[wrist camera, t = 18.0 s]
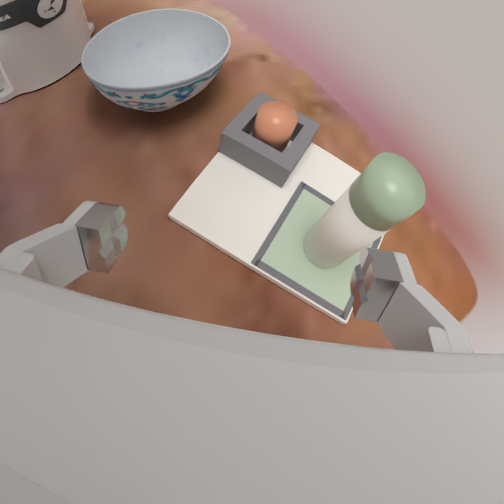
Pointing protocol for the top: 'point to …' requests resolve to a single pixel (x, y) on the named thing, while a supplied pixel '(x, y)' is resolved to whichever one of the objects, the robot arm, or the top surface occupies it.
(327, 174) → the white board
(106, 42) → the chinaware
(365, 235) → the marker
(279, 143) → the button
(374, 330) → the top surface
